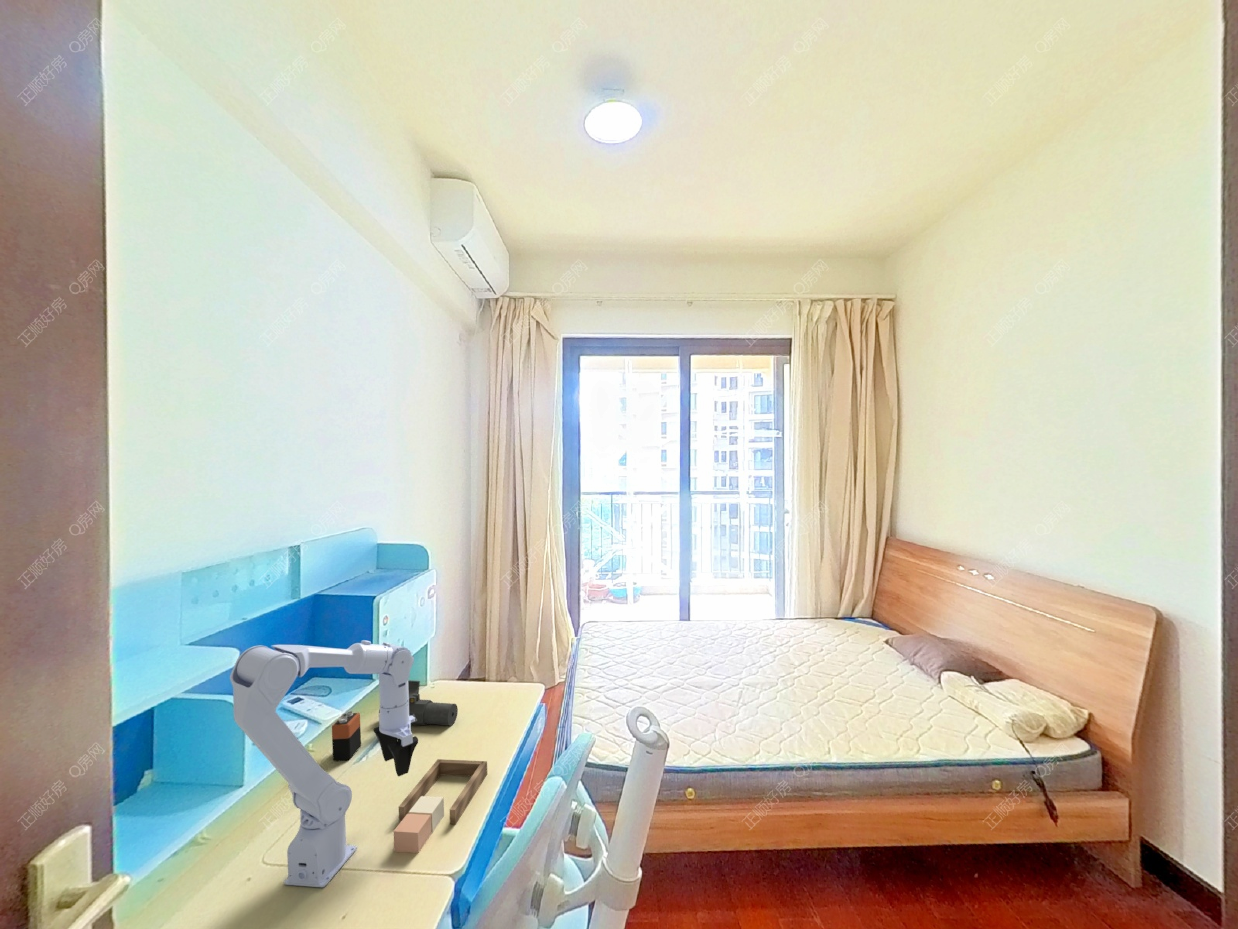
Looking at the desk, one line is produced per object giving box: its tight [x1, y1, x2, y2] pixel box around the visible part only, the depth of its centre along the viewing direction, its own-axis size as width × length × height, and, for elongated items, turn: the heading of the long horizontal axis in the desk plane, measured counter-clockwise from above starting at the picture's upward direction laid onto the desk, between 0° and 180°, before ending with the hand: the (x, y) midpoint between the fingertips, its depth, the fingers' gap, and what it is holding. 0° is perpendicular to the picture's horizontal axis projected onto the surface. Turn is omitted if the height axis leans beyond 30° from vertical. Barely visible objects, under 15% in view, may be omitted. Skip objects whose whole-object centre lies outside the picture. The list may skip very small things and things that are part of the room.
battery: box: [331, 710, 362, 762], centre depth 134 cm, size 4×7×10 cm, turn 2°
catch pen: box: [398, 759, 488, 825], centre depth 116 cm, size 17×12×3 cm
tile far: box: [409, 795, 445, 833], centre depth 107 cm, size 5×5×4 cm
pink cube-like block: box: [393, 814, 432, 854], centre depth 102 cm, size 5×5×4 cm
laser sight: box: [378, 679, 459, 726], centre depth 150 cm, size 10×22×10 cm, turn 79°
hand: (396, 766), depth 110 cm, fingers open, 7 cm apart
